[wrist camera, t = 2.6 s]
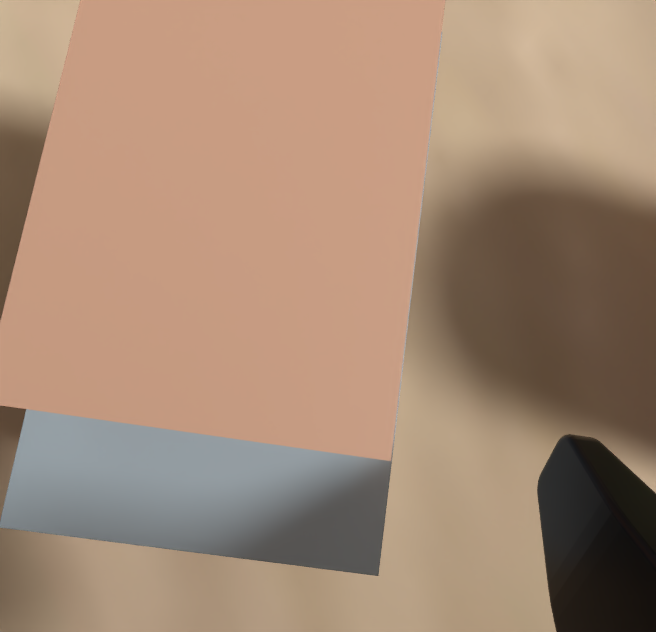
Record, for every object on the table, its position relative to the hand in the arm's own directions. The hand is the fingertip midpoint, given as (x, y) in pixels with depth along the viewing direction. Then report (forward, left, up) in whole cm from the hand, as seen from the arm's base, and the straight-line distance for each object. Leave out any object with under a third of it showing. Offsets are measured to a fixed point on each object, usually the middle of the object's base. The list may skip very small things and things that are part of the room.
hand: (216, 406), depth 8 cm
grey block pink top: (+2, -1, -10) cm, 10 cm away
